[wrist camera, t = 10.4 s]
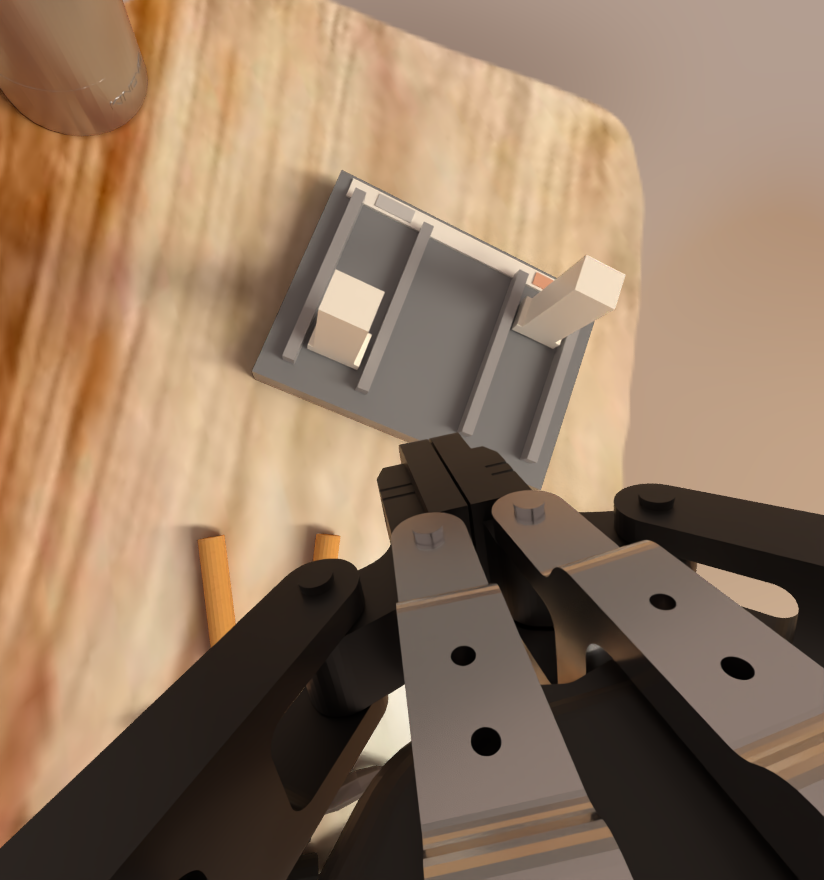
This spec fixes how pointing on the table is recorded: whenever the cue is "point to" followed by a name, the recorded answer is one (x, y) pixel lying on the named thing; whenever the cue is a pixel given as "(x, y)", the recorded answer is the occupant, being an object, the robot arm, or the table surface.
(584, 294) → the far tab
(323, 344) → the near tab
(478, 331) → the switch box
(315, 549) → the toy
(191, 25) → the table surface
